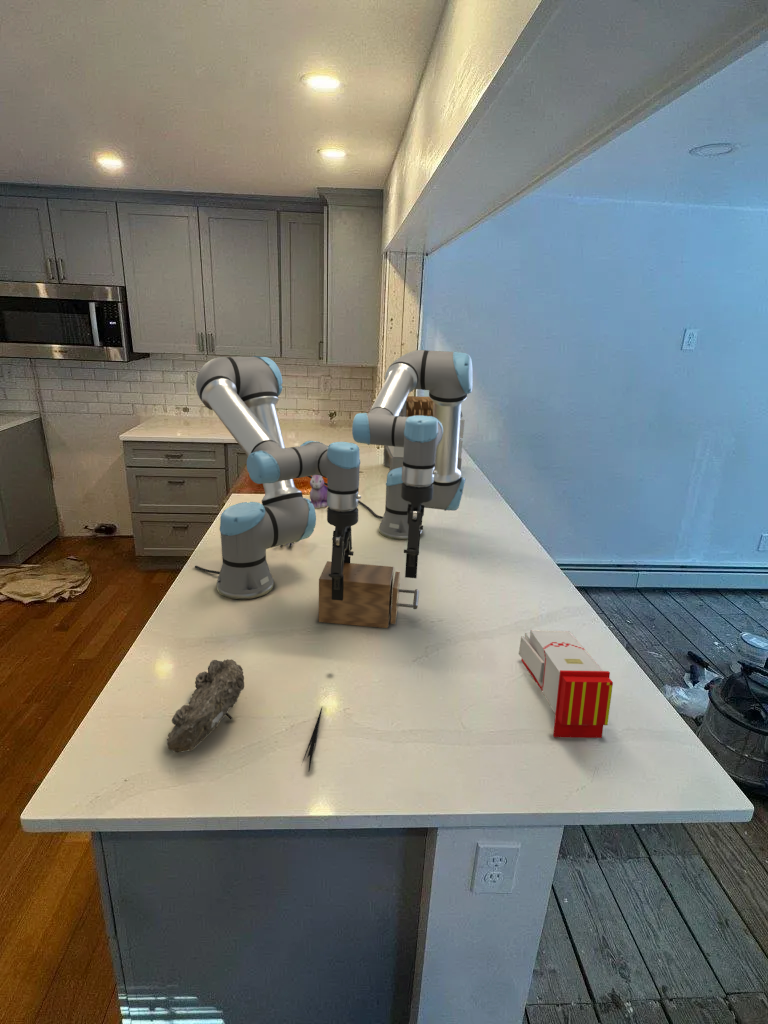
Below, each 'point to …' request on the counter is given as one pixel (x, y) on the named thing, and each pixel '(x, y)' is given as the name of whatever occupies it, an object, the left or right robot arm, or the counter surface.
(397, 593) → the drawer
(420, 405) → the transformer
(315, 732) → the feather
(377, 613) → the cabinet
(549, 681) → the toy
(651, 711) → the counter surface
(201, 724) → the fossil
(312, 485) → the figurine
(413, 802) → the counter surface
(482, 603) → the counter surface
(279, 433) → the left robot arm
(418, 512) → the right robot arm
